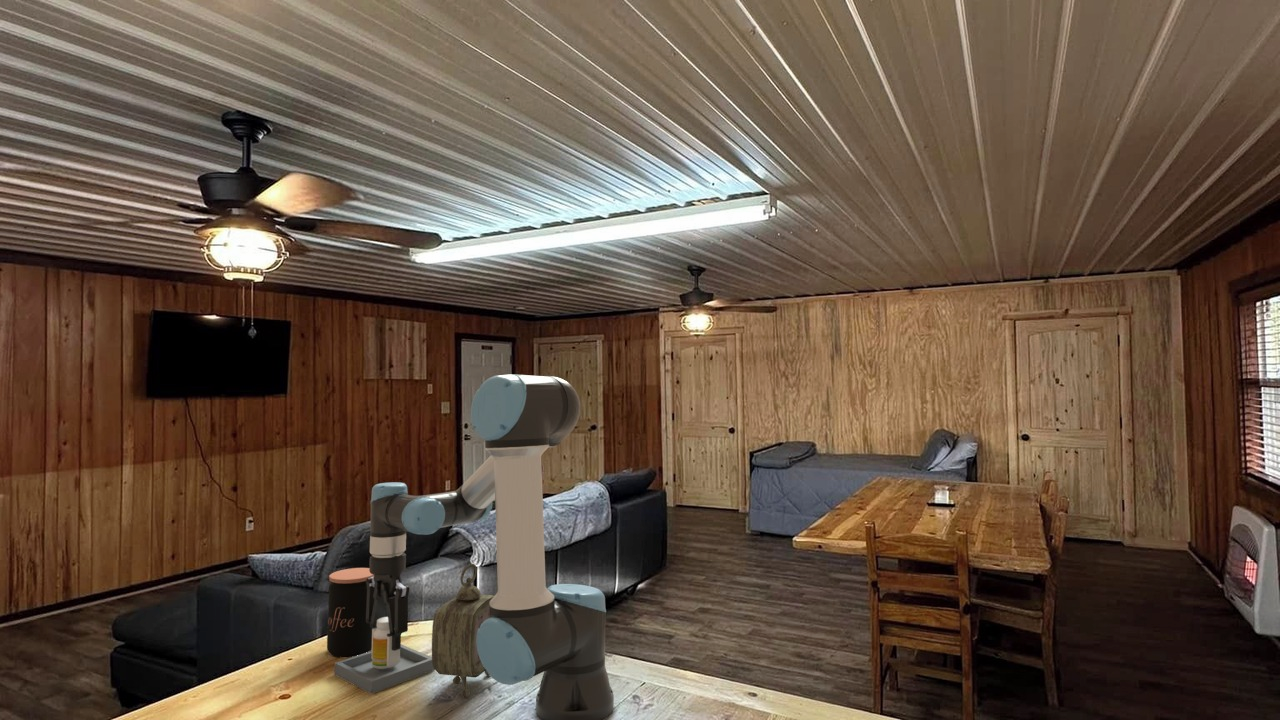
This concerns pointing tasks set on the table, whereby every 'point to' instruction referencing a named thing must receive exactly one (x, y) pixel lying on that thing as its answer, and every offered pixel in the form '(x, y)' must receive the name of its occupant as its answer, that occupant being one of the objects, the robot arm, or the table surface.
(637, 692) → the table surface
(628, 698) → the table surface
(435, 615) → the tabletop clock
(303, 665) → the table surface
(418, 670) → the tray
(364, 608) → the coffee jar
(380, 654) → the supplement bottle
